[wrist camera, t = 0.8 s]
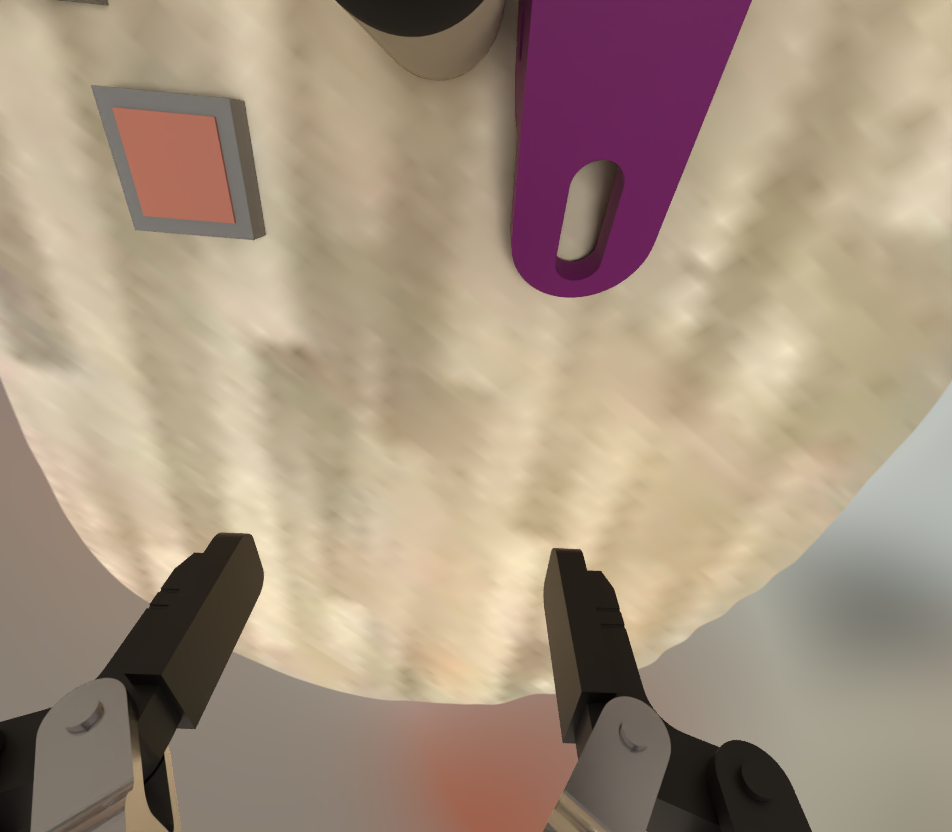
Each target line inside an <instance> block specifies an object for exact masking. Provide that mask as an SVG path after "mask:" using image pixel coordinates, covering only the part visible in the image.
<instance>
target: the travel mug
mask: <svg viewBox="0 0 952 832" xmlns="http://www.w3.org/2000/svg"><path fill="white" fill-rule="evenodd" d="M336 1H337V2H338V3H339V4H340V5H341V6H342V7H343V8H344V9H345V10H346V11H347V12H348V13H349V14H350V15H351V16H352V17H353V18H354V19H355V20H356V21H357V22H358V23H359V24H360V25H361V26H362V27H363V28H364V29H365V30H366V31H367V32H368V34H369V35H370V36H371V37H372V38H373V39H374V40H375V41H376V42H377V43H378V44H379V45H380V46H381V47H382V48H383V49H384V50H385V51H386V52H387V53H388V54H389V55H390V56H391V57H392V58H393V59H394V60H395V61H396V62H397V63H399V64H400V65H401V66H402V67H403V68H405V69H406V70H408V71H409V72H411V73H413V74H415V75H417V76H419V77H423V78H426V79H431V80H446V79H451V78H454V77H457V76H460V75H462V74H464V73H465V72H467V71H469V70H470V69H471V68H473V67H474V66H475V65H476V64H477V63H478V62H479V61H480V60H481V59H482V58H483V57H484V56H485V54H486V53H487V52H488V50H489V48H490V47H491V45H492V43H493V41H494V39H495V37H496V35H497V32H498V30H499V27H500V24H501V20H502V16H503V11H504V6H505V1H506V0H336Z"/></svg>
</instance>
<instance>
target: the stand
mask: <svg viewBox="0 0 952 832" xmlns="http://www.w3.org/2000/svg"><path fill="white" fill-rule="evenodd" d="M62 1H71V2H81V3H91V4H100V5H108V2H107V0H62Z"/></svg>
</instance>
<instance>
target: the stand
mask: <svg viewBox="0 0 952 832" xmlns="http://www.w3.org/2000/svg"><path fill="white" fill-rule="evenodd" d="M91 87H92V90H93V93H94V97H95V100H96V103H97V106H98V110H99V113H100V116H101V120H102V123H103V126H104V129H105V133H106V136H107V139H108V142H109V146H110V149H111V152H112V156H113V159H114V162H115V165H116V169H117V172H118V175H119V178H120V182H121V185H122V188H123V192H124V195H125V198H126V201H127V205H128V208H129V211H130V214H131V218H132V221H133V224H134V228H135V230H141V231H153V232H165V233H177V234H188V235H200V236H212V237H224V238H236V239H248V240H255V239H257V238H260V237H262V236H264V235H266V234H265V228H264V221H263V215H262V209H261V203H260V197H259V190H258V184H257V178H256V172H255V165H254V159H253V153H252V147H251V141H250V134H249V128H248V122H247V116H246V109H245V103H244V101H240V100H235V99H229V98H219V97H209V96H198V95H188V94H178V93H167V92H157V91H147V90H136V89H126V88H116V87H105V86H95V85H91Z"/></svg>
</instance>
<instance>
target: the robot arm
mask: <svg viewBox="0 0 952 832" xmlns="http://www.w3.org/2000/svg"><path fill="white" fill-rule="evenodd" d="M263 580H264V571H263V567H262V564H261V561H260V558H259V555H258V551H257V548H256V545H255V542H254V539H253V537H252V535H251V534H244V533H218V534H217V535H216V536H215V537H214V538H213V539H212V541H211V542H210V544H209V545H208V547H207V548H206V550H205V551H204V553H193V554H192V555H191V556H190V557H188V558H187V559H186V560H185V561H184V562H182V563H181V564H180V565H179V566H178V567H176V568H175V569H174V570H173V572H172V573H171V575H170V576H169V578H168V579H167V580H166V582H165V583H164V585H163V586H162V587H161V591H160V592H158V593H157V595H156V596H155V597H154V599H153V600H152V602H151V603H150V607H149V608H147V609H146V610H145V612H144V613H143V615H142V616H141V617H140V619H139V620H138V622H137V623H136V624H135V626H134V627H133V629H132V630H131V632H130V633H129V634H128V636H127V637H126V639H125V640H124V642H123V643H122V644H121V646H120V647H119V649H118V650H117V652H116V653H115V654H114V656H113V657H112V659H111V660H110V662H109V663H108V664H107V666H106V667H105V669H104V670H103V671H102V672H101V674H100V675H99V676H98V677H97V678H96V679H95V680H93V681H90V682H87V683H85V684H83V685H81V686H79V687H77V688H75V689H74V690H72V691H71V692H69V693H68V694H66V695H65V696H64V697H63V698H61V699H60V700H59V701H58V702H57V703H56V704H55V705H54V706H53V707H52V708H49V709H45V710H42V711H38V712H35V713H31V714H28V715H24V716H20V717H17V718H13V719H10V720H6V721H2V722H0V832H182V830H181V824H180V817H179V810H178V804H177V797H176V790H175V783H174V776H173V770H172V763H171V756H170V751H169V747H168V744H169V742H170V741H171V739H172V737H173V735H174V733H175V731H176V729H177V728H181V729H196V726H197V725H198V723H199V720H200V718H201V716H202V714H203V712H204V710H205V708H206V706H207V704H208V702H209V699H210V697H211V695H212V693H213V691H214V689H215V687H216V685H217V683H218V681H219V679H220V676H221V674H222V672H223V670H224V668H225V666H226V664H227V662H228V660H229V658H230V655H231V653H232V651H233V649H234V647H235V645H236V643H237V641H238V639H239V637H240V635H241V633H242V631H243V628H244V626H245V624H246V622H247V620H248V618H249V616H250V614H251V612H252V610H253V608H254V605H255V603H256V601H257V599H258V597H259V595H260V593H261V590H262V586H263ZM544 609H545V616H546V624H547V631H548V638H549V646H550V653H551V660H552V668H553V675H554V682H555V689H556V697H557V704H558V711H559V718H560V726H561V733H562V741H563V743H576V748H577V755H578V762H577V764H576V766H575V768H574V771H573V773H572V775H571V777H570V779H569V781H568V783H567V785H566V787H565V789H564V791H563V793H562V795H561V797H560V799H559V801H558V803H557V805H556V807H555V809H554V811H553V813H552V815H551V817H550V819H549V821H548V823H547V825H546V827H545V829H544V831H543V832H645V831H647V832H812V831H811V828H810V826H809V824H808V821H807V819H806V817H805V815H804V812H803V810H802V808H801V805H800V803H799V801H798V798H797V796H796V794H795V791H794V789H793V787H792V785H791V783H790V781H789V779H788V777H787V776H786V774H785V772H784V771H783V770H782V768H781V767H780V766H779V765H778V763H777V762H776V761H775V760H774V759H773V758H772V757H771V756H770V755H768V754H767V753H766V752H765V751H763V750H762V749H760V748H759V747H757V746H755V745H753V744H751V743H748V742H745V741H741V740H732V741H728V742H726V743H724V744H723V745H722V746H721V747H717V746H715V745H712V744H710V743H707V742H705V741H702V740H699V739H697V738H695V737H692V736H690V735H687V734H685V733H682V732H681V731H678V730H677V729H675V728H673V727H672V726H670V725H669V724H668V723H667V722H665V721H664V720H663V719H662V718H661V717H660V716H659V715H658V714H657V712H656V711H655V710H654V709H653V707H652V706H651V704H650V703H649V701H648V699H647V697H646V694H645V692H644V689H643V685H642V682H641V679H640V675H639V672H638V668H637V665H636V662H635V658H634V655H633V652H632V648H631V645H630V641H629V638H628V635H627V631H626V629H625V628H624V621H623V618H622V614H621V612H620V608H619V604H618V601H617V597H616V594H615V591H614V588H613V587H612V585H611V584H610V583H609V581H608V580H607V579H606V577H605V576H604V574H603V573H602V572H601V571H587V568H586V564H585V560H584V556H583V553H582V551H581V550H580V549H563V548H553V549H552V551H551V555H550V560H549V564H548V569H547V573H546V578H545V583H544Z"/></svg>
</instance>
